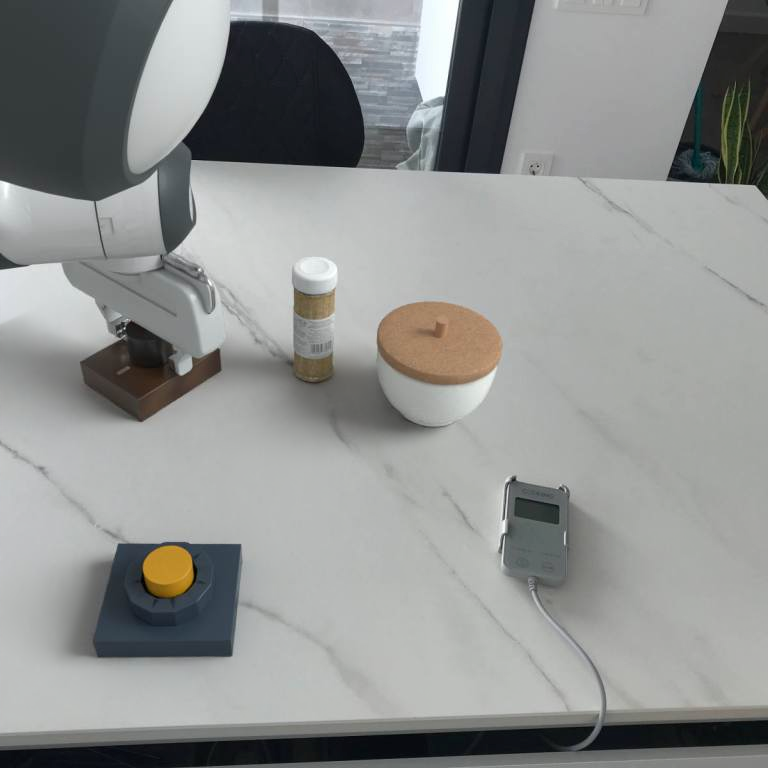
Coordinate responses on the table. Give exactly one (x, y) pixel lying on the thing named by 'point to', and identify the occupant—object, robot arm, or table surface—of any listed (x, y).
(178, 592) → the trigger button
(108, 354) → the dial panel
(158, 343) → the dial
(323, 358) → the sprinkles bottle
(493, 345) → the decorative box
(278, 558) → the table surface
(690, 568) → the table surface
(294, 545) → the table surface
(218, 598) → the button housing
